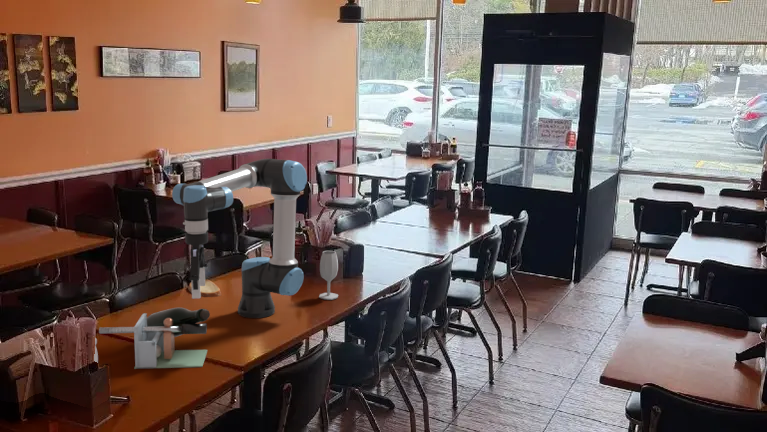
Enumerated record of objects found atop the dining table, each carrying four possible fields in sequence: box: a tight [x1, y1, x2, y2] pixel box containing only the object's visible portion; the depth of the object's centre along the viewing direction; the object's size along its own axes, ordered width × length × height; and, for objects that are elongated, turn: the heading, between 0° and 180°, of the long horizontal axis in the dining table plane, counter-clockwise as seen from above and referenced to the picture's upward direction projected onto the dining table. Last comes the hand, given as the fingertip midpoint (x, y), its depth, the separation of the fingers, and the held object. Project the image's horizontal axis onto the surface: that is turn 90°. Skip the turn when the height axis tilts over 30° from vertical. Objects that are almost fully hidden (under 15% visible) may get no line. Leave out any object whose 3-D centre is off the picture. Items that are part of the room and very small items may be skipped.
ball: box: [156, 345, 161, 358], centre depth 234 cm, size 5×5×5 cm
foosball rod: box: [98, 318, 208, 359], centre depth 233 cm, size 35×6×14 cm, turn 97°
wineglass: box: [318, 250, 339, 301], centre depth 305 cm, size 9×9×21 cm
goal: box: [133, 312, 164, 369], centre depth 233 cm, size 7×14×14 cm, turn 7°
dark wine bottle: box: [147, 307, 211, 338], centre depth 241 cm, size 10×10×33 cm
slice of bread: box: [187, 278, 222, 298], centre depth 313 cm, size 18×18×4 cm
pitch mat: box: [134, 349, 208, 370], centre depth 235 cm, size 22×14×1 cm, turn 97°
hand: (198, 291), depth 234 cm, fingers open, 13 cm apart
